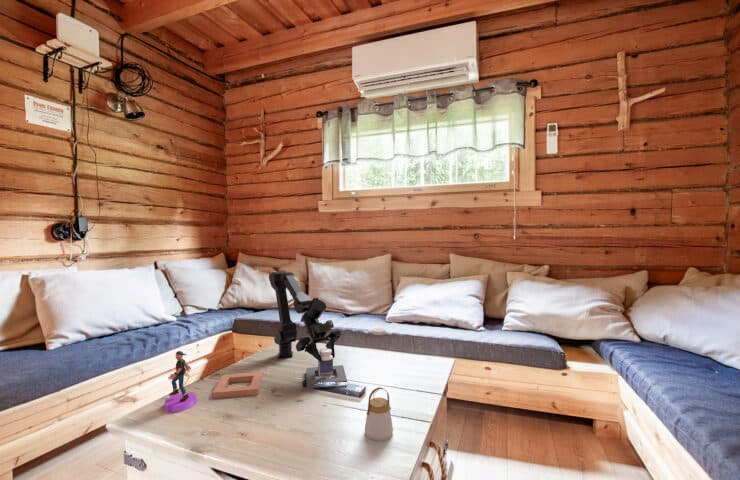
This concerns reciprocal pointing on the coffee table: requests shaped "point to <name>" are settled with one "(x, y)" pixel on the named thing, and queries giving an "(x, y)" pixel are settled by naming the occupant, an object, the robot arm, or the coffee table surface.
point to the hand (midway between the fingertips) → (327, 359)
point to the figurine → (182, 399)
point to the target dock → (223, 391)
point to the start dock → (314, 371)
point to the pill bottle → (325, 363)
